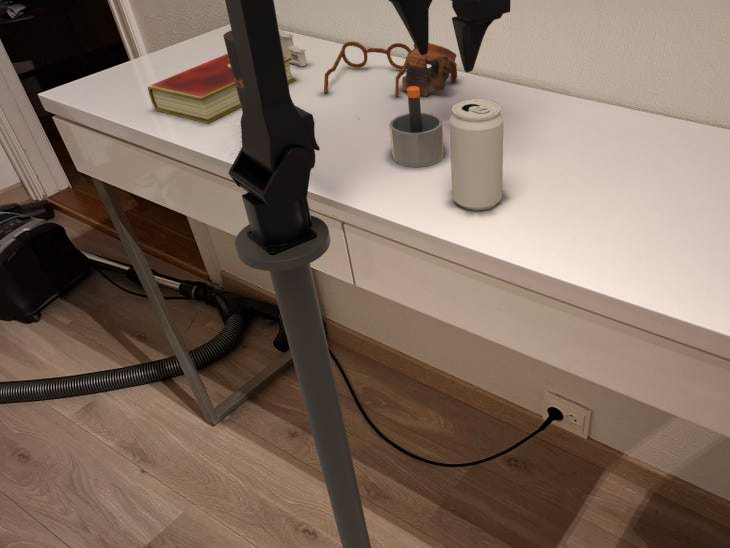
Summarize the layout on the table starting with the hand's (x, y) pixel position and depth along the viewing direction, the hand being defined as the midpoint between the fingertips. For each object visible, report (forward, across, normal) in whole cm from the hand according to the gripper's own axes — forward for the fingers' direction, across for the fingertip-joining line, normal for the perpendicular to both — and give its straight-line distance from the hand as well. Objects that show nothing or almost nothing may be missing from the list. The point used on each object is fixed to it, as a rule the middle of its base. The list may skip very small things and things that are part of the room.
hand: (445, 62), depth 88 cm
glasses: (+13, +32, -8) cm, 35 cm away
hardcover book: (+13, +44, +13) cm, 47 cm away
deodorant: (+13, +22, +17) cm, 30 cm away
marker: (+12, +3, +4) cm, 13 cm away
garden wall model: (+13, +53, -3) cm, 54 cm away
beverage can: (+13, -13, +6) cm, 19 cm away
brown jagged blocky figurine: (+13, +22, -14) cm, 29 cm away
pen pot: (+13, +3, +4) cm, 13 cm away
